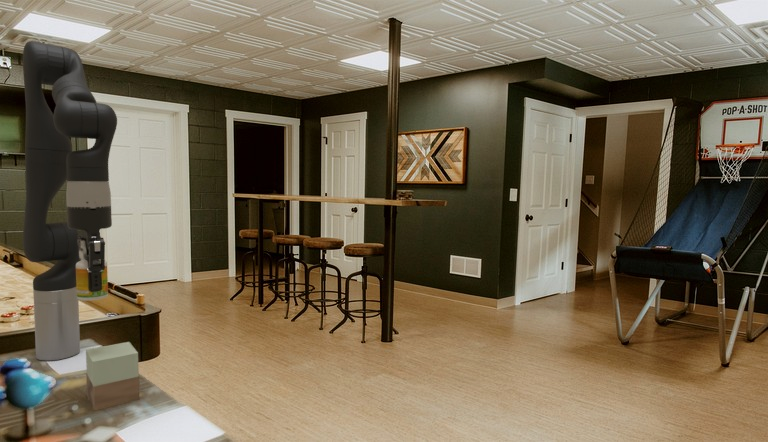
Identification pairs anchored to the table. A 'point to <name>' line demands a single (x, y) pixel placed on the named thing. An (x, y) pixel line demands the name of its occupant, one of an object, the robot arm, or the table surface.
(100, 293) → the supplement bottle
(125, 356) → the tower top
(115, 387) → the tower base
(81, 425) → the table surface
